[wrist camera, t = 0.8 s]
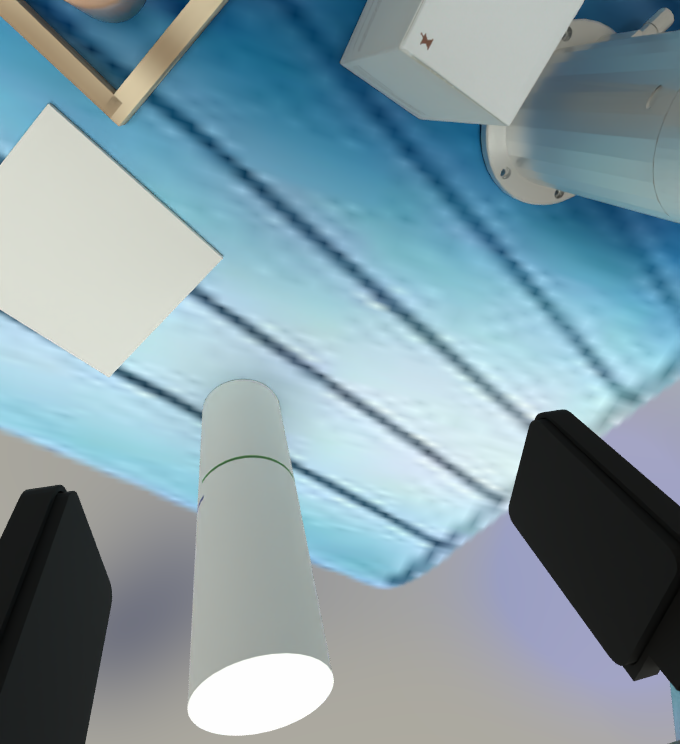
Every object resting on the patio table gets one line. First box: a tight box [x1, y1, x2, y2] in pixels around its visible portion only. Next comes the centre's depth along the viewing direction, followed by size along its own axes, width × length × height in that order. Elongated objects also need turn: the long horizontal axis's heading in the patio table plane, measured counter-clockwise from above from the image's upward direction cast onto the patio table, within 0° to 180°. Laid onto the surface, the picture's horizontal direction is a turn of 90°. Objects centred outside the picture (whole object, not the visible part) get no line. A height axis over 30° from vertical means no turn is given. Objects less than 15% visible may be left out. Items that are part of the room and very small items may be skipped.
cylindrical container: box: [188, 379, 334, 736], centre depth 34 cm, size 7×7×25 cm
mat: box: [0, 104, 223, 377], centre depth 35 cm, size 14×14×1 cm
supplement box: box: [340, 0, 585, 126], centre depth 27 cm, size 7×7×13 cm
